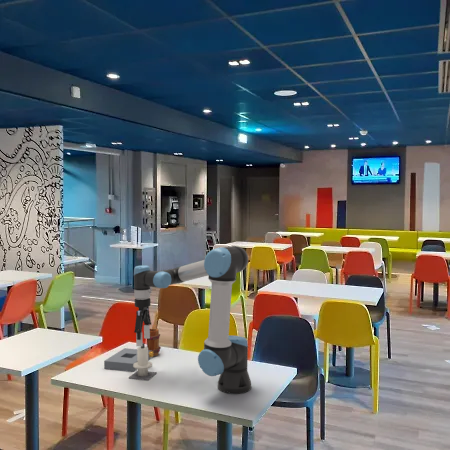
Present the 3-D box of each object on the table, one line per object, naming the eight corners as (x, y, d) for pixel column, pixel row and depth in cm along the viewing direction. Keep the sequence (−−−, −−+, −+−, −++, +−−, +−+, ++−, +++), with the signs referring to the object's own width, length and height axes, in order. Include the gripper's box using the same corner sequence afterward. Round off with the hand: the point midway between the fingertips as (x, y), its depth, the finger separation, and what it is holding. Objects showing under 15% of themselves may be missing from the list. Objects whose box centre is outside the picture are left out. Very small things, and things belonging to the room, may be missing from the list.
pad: (148, 380, 223) (148, 379, 223) (128, 378, 225) (128, 377, 225) (156, 373, 232) (156, 372, 232) (137, 371, 235) (137, 370, 235)
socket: (133, 371, 235) (133, 361, 234) (104, 368, 239) (104, 358, 239) (151, 357, 256) (151, 348, 256) (124, 355, 260) (124, 346, 260)
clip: (154, 358, 238) (154, 351, 238) (149, 359, 237) (149, 352, 237) (142, 349, 254) (142, 342, 253) (137, 349, 252) (137, 343, 252)
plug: (147, 378, 223) (147, 347, 223) (130, 376, 226) (129, 345, 225) (155, 372, 232) (155, 341, 231) (138, 370, 234) (138, 340, 234)
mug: (158, 358, 256) (158, 330, 255) (143, 357, 256) (143, 330, 255) (162, 349, 270) (162, 323, 270) (148, 349, 271) (148, 323, 270)
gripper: (143, 303, 215) (144, 349, 215) (156, 293, 239) (157, 335, 240) (127, 303, 215) (128, 349, 216) (141, 293, 240) (142, 335, 241)
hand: (143, 342), depth 228 cm, fingers open, 13 cm apart
